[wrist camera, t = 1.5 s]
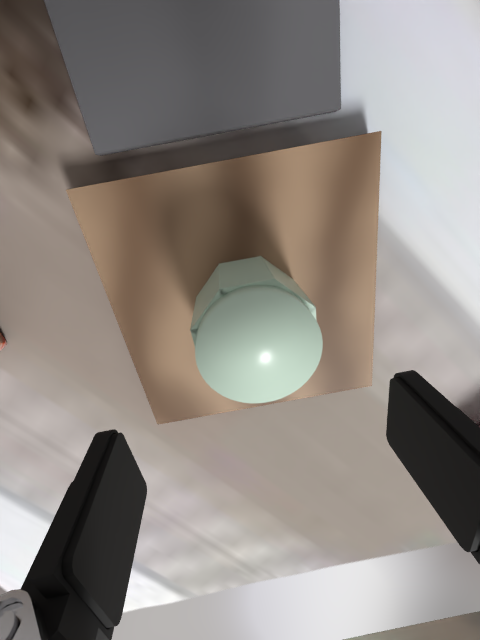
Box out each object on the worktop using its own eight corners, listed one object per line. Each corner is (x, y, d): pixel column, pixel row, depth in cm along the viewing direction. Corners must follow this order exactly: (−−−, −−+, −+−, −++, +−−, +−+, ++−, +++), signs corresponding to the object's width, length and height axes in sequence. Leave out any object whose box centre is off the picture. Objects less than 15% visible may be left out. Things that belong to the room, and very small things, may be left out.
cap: (290, 250, 19) (322, 278, 13) (298, 338, 21) (327, 393, 16) (189, 268, 19) (177, 304, 13) (210, 354, 22) (208, 414, 16)
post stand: (368, 135, 18) (428, 115, 13) (363, 375, 25) (399, 421, 20) (77, 189, 18) (22, 191, 13) (160, 411, 25) (147, 466, 20)
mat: (330, -163, 13) (336, -184, 12) (335, 111, 17) (340, 108, 16) (16, -102, 13) (4, -120, 12) (100, 155, 17) (95, 154, 16)
